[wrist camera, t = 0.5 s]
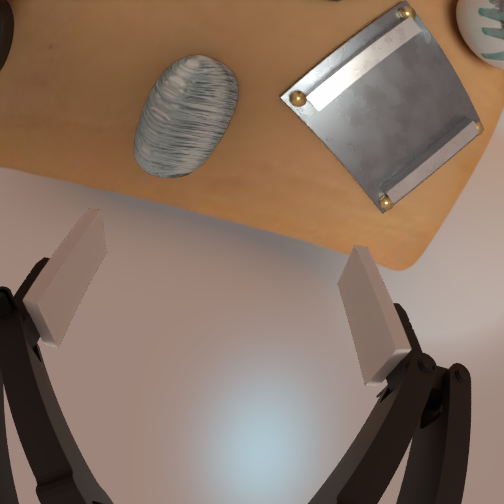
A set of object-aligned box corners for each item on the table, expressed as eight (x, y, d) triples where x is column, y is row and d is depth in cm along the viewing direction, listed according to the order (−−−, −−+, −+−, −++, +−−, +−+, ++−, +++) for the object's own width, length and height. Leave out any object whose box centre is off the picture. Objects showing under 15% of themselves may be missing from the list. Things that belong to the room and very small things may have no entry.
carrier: (279, 96, 30) (281, 99, 28) (401, 1, 22) (413, -2, 19) (379, 209, 38) (387, 220, 36) (479, 127, 30) (491, 133, 27)
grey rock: (201, 198, 34) (154, 196, 25) (147, 155, 35) (93, 144, 26) (271, 101, 30) (247, 63, 21) (209, 66, 32) (170, 29, 22)
